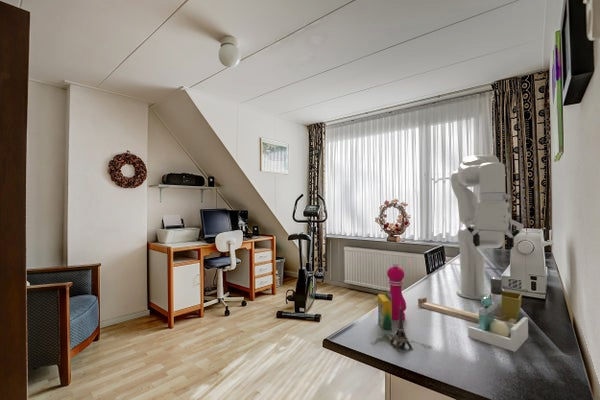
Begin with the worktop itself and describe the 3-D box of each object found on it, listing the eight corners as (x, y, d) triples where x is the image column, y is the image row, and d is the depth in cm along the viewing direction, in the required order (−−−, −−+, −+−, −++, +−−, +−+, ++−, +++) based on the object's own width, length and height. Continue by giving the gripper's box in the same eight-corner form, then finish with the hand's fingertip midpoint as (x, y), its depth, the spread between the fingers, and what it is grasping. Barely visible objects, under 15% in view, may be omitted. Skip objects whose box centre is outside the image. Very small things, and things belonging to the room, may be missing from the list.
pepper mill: (408, 322, 100) (407, 265, 100) (386, 320, 101) (386, 264, 102) (404, 314, 107) (404, 261, 107) (384, 313, 108) (384, 260, 109)
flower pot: (489, 318, 103) (488, 293, 103) (493, 312, 109) (493, 288, 110) (519, 325, 97) (519, 299, 97) (522, 318, 103) (522, 293, 104)
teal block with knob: (491, 320, 99) (491, 276, 100) (505, 324, 96) (504, 278, 97) (474, 333, 89) (474, 283, 90) (489, 337, 86) (488, 286, 87)
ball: (489, 325, 93) (499, 315, 90) (503, 338, 89) (515, 329, 87) (483, 329, 89) (494, 319, 87) (498, 343, 86) (510, 333, 84)
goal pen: (484, 324, 98) (484, 307, 98) (528, 337, 88) (527, 317, 88) (468, 336, 89) (467, 317, 89) (515, 351, 79) (514, 330, 80)
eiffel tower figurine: (434, 348, 82) (433, 302, 83) (423, 363, 74) (423, 312, 75) (384, 333, 92) (384, 292, 92) (370, 345, 84) (370, 300, 84)
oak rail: (423, 303, 119) (422, 296, 119) (516, 329, 94) (516, 320, 94) (418, 305, 116) (418, 298, 116) (513, 332, 92) (512, 323, 92)
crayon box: (377, 322, 100) (377, 288, 100) (386, 322, 100) (386, 289, 100) (383, 331, 93) (382, 295, 93) (392, 331, 93) (392, 295, 93)
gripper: (525, 198, 95) (526, 249, 94) (468, 198, 108) (469, 244, 108) (519, 197, 90) (520, 252, 90) (460, 198, 103) (461, 246, 103)
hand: (492, 247), depth 99 cm, fingers open, 9 cm apart
